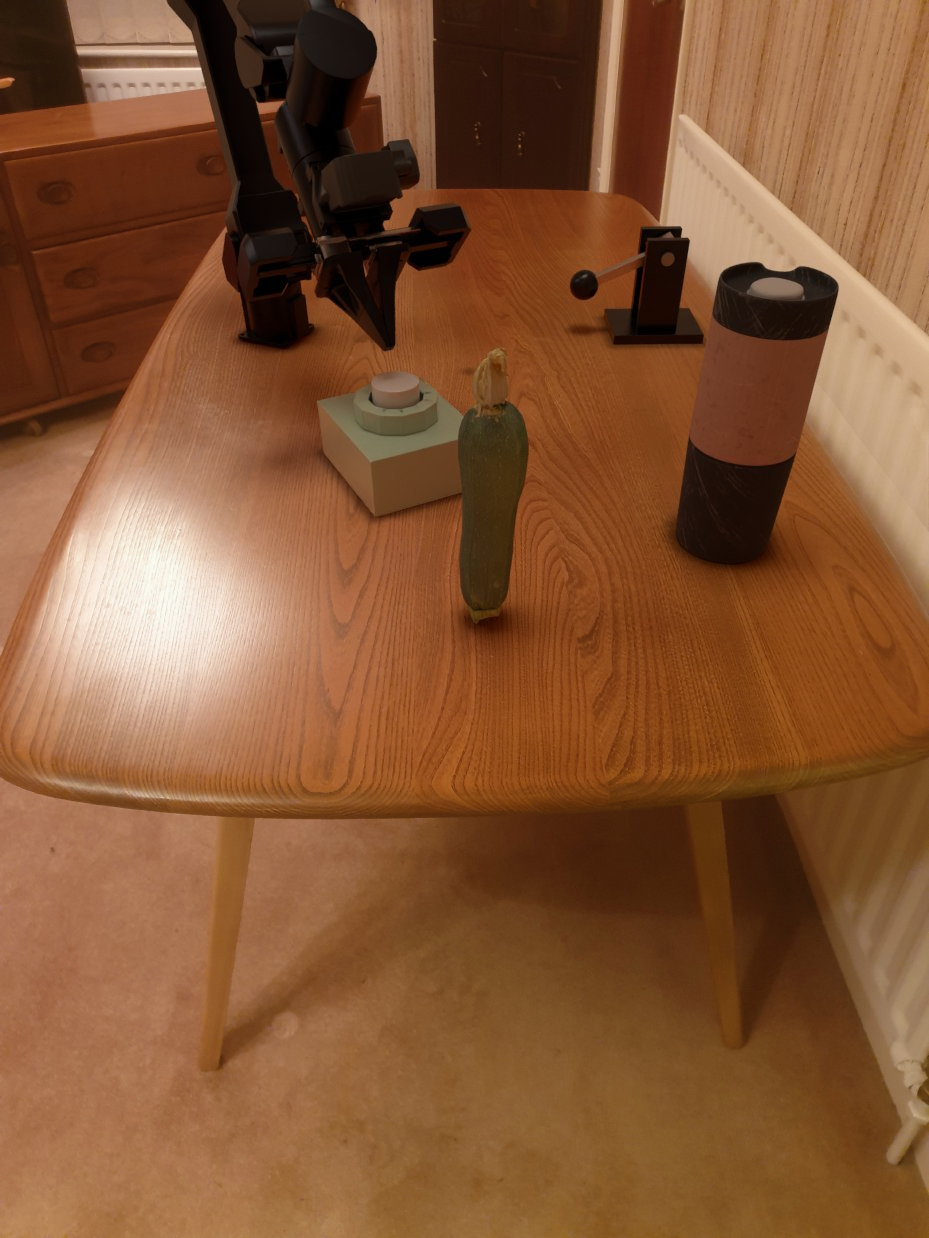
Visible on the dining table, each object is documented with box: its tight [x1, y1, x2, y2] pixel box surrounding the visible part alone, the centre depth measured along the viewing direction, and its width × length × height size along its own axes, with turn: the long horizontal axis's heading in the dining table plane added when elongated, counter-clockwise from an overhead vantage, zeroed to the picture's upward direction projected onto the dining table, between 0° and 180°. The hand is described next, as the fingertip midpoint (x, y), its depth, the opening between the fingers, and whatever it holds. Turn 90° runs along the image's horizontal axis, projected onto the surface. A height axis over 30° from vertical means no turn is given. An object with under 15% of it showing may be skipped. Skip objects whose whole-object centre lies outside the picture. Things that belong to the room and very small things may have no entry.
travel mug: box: [675, 261, 840, 564], centre depth 62 cm, size 8×8×20 cm
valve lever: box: [569, 232, 674, 301], centre depth 95 cm, size 12×3×3 cm, turn 91°
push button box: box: [316, 377, 464, 518], centre depth 74 cm, size 12×10×7 cm
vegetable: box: [458, 347, 530, 624], centre depth 55 cm, size 4×4×20 cm
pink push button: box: [370, 370, 420, 409], centre depth 72 cm, size 4×4×2 cm
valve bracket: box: [603, 225, 705, 346], centre depth 96 cm, size 10×8×11 cm
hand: (389, 348), depth 70 cm, fingers closed
